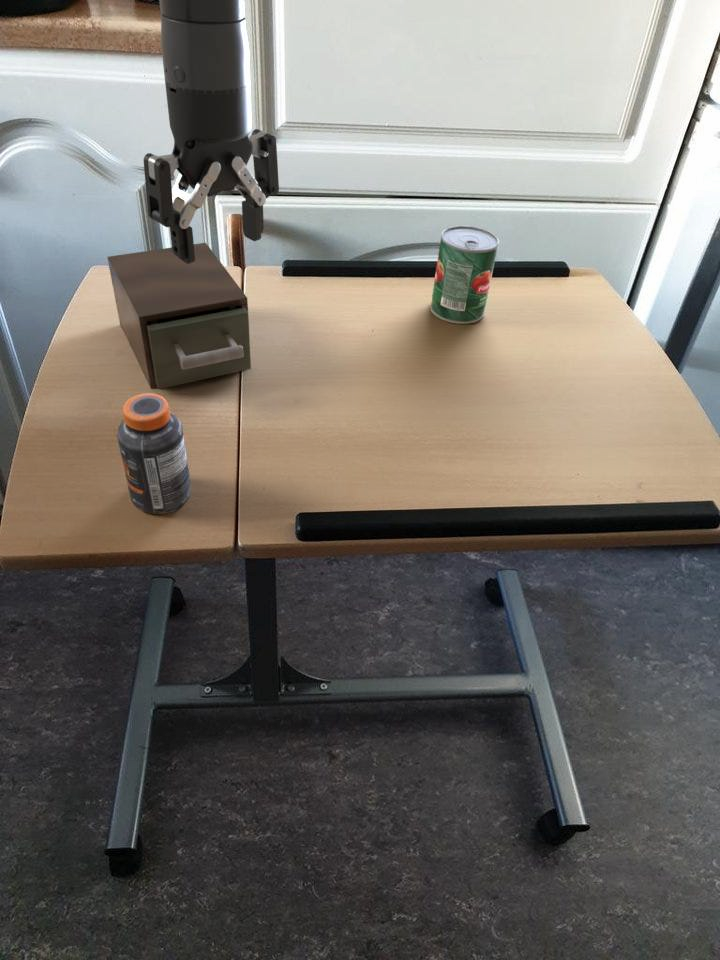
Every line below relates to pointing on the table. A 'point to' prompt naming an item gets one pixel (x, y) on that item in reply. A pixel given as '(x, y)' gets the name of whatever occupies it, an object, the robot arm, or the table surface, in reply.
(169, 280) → the cabinet
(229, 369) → the drawer
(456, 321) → the canned tomato
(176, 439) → the pill bottle
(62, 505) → the table surface
